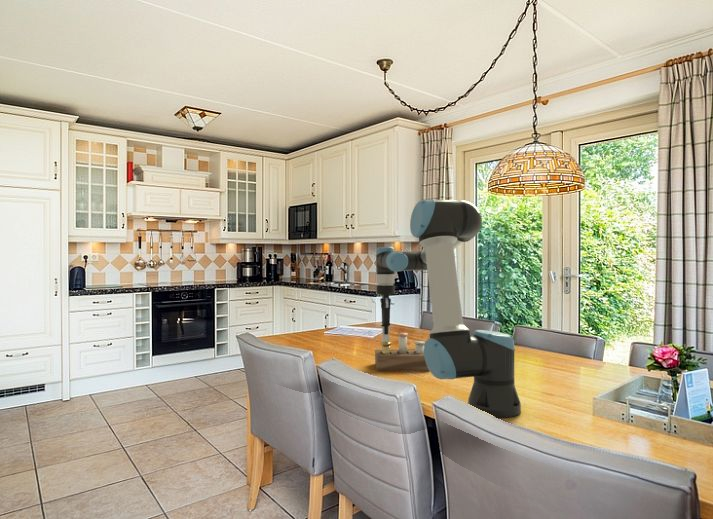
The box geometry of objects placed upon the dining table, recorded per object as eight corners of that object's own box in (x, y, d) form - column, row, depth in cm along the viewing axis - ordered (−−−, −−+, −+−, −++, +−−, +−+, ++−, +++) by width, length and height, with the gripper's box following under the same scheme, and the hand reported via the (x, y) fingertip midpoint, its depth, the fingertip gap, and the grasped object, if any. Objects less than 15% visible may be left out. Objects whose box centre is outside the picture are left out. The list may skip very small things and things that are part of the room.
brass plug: (391, 364, 185) (391, 343, 185) (381, 365, 185) (381, 343, 185) (390, 362, 189) (390, 341, 189) (380, 362, 189) (380, 341, 189)
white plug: (408, 355, 185) (408, 334, 185) (398, 356, 185) (398, 334, 185) (407, 353, 189) (407, 332, 189) (397, 353, 189) (397, 332, 189)
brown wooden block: (432, 370, 182) (432, 355, 182) (377, 371, 181) (377, 356, 181) (426, 362, 194) (426, 348, 194) (375, 363, 193) (375, 349, 193)
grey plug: (425, 364, 185) (425, 342, 185) (415, 364, 185) (415, 343, 185) (424, 361, 190) (423, 340, 189) (413, 362, 189) (413, 341, 189)
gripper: (396, 285, 180) (396, 344, 180) (392, 283, 193) (393, 338, 193) (377, 285, 180) (378, 345, 180) (375, 283, 193) (375, 338, 193)
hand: (385, 341), depth 187 cm, fingers closed
